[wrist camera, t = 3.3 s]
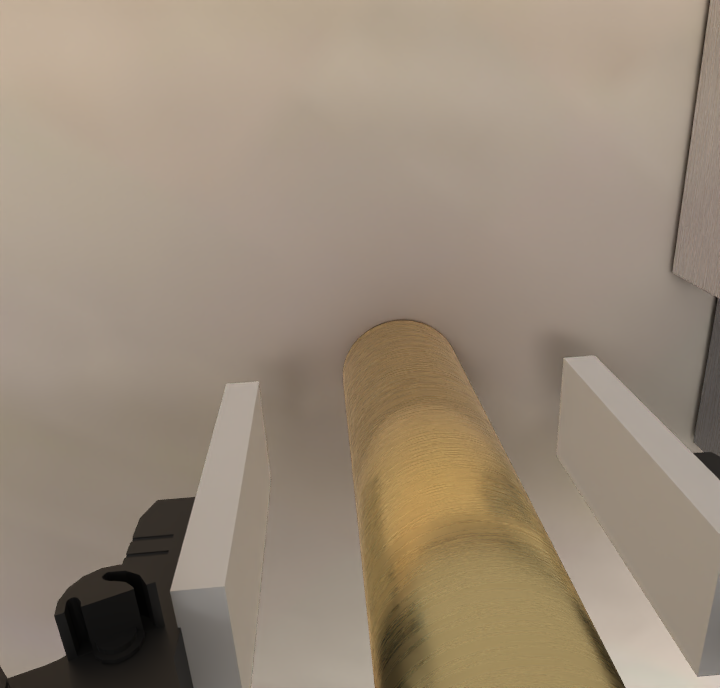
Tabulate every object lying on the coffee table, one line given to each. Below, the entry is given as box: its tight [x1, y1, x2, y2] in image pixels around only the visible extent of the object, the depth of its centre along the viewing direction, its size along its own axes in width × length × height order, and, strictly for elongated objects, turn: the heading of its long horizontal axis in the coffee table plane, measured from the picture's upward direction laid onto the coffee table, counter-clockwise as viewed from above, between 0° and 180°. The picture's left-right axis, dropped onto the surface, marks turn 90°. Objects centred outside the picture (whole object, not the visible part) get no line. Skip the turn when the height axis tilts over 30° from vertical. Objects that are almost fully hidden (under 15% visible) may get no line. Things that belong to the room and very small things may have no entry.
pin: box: [343, 320, 625, 688], centre depth 12 cm, size 4×4×14 cm
